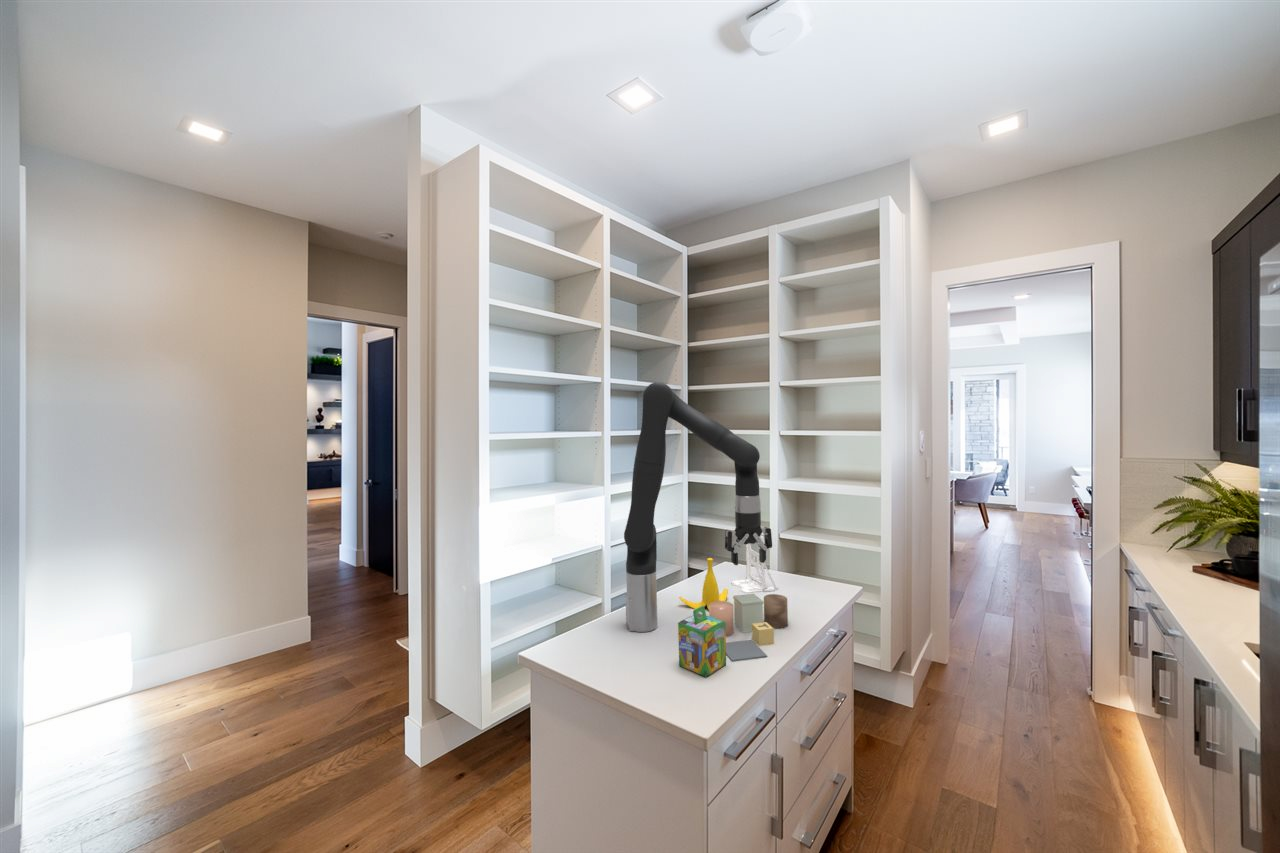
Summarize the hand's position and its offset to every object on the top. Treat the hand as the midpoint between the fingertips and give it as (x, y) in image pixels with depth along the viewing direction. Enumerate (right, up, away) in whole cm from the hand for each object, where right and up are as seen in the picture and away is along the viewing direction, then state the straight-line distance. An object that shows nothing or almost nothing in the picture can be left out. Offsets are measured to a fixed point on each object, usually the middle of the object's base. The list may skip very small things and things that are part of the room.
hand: (748, 563), depth 155 cm
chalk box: (-17, -21, -21) cm, 34 cm away
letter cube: (+2, -20, -8) cm, 22 cm away
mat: (-5, -20, -14) cm, 25 cm away
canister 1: (-8, -20, -1) cm, 22 cm away
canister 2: (+9, -20, +3) cm, 22 cm away
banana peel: (-8, -20, +16) cm, 27 cm away
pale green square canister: (0, -20, +1) cm, 20 cm away
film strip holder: (+10, -19, +38) cm, 44 cm away
